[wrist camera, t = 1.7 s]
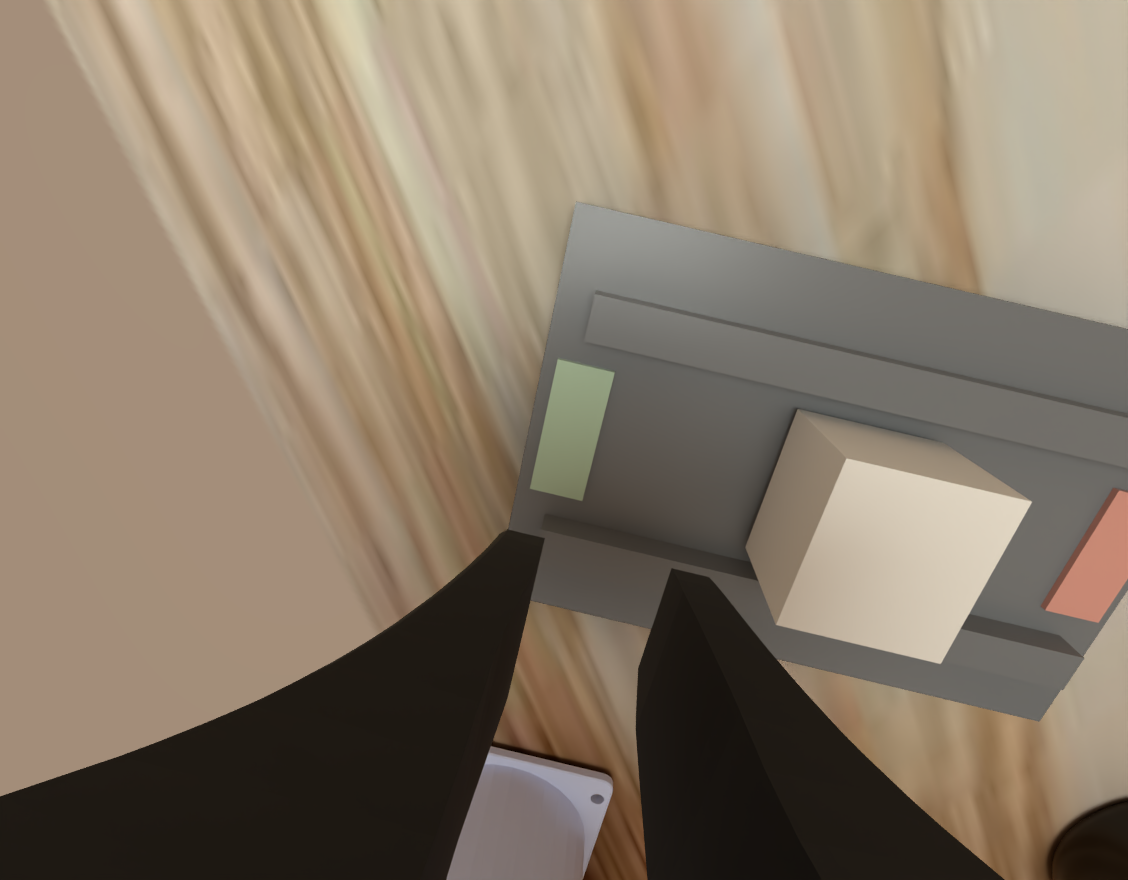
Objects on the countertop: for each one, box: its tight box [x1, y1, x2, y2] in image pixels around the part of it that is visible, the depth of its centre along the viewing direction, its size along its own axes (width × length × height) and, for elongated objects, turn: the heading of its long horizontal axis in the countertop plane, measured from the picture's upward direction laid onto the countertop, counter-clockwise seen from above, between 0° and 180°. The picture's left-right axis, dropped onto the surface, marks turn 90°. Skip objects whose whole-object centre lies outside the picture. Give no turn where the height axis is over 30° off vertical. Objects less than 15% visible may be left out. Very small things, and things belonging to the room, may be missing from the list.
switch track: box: [508, 202, 1128, 721], centre depth 17 cm, size 12×18×2 cm, turn 78°
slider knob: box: [745, 409, 1032, 664], centre depth 15 cm, size 4×4×4 cm
